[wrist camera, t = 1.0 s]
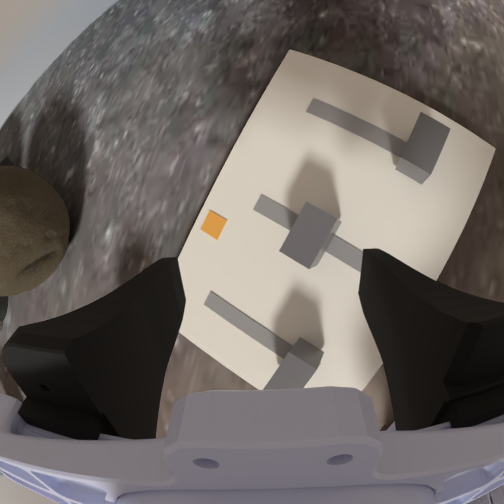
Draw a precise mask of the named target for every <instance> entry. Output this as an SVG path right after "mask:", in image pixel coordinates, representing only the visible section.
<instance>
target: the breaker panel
mask: <svg viewBox="0 0 504 504" xmlns="http://www.w3.org/2000/svg"><path fill="white" fill-rule="evenodd" d="M420 112H423V113H424V114H426V115H428V116H430V117H432V118H433V119H435V120H437V121H439V122H440V123H442V124H444V125H445V126H447V127H449V128H450V132H449V134H448V137H447V139H446V142H445V144H444V146H443V149H442V151H441V153H440V156H439V158H438V160H437V163H436V165H435V167H434V169H433V172H432V174H431V175H430V176H429V177H428V178H427V180H426V181H425V182H424V183H423V184H422V185H421V184H420V183H418V182H416V181H415V180H413V179H411V178H409V177H408V176H406V175H404V174H403V173H401V172H399V171H397V170H396V166H397V163H398V161H399V158H400V156H401V154H402V152H403V150H404V148H405V145H406V143H407V141H408V139H409V137H410V135H411V132H412V130H413V128H414V126H415V124H416V121H417V119H418V117H419V114H420ZM495 149H496V148H494V147H493V146H491V145H490V144H488V143H487V142H485V141H484V140H483V139H481V138H480V137H478V136H477V135H475V134H474V133H472V132H470V131H469V130H467V129H466V128H464V127H463V126H461V125H459V124H458V123H456V122H454V121H453V120H451V119H449V118H448V117H446V116H444V115H442V114H441V113H439V112H437V111H435V110H434V109H432V108H430V107H428V106H426V105H425V104H423V103H421V102H419V101H417V100H415V99H413V98H411V97H409V96H407V95H405V94H403V93H401V92H399V91H397V90H395V89H393V88H391V87H388V86H386V85H384V84H382V83H380V82H377V81H375V80H373V79H371V78H368V77H366V76H364V75H361V74H359V73H356V72H354V71H351V70H349V69H346V68H344V67H341V66H338V65H336V64H333V63H330V62H327V61H325V60H322V59H319V58H316V57H313V56H310V55H307V54H304V53H300V52H297V51H294V50H291V49H290V50H289V51H288V53H287V55H286V56H285V58H284V60H283V61H282V63H281V64H280V66H279V68H278V70H277V71H276V73H275V75H274V76H273V78H272V80H271V81H270V83H269V85H268V86H267V88H266V90H265V92H264V93H263V95H262V97H261V99H260V100H259V102H258V104H257V106H256V107H255V109H254V111H253V113H252V115H251V116H250V118H249V120H248V122H247V124H246V125H245V127H244V129H243V131H242V133H241V134H240V136H239V138H238V140H237V142H236V144H235V146H234V147H233V149H232V151H231V153H230V155H229V157H228V159H227V161H226V163H225V164H224V166H223V168H222V170H221V172H220V174H219V176H218V178H217V180H216V182H215V184H214V186H213V188H212V190H211V192H210V194H209V196H208V198H207V200H206V202H205V204H204V206H203V208H202V210H201V212H200V214H199V216H198V218H197V220H196V222H195V224H194V226H193V228H192V230H191V232H190V234H189V236H188V238H187V241H186V243H185V245H184V247H183V249H182V251H181V253H180V256H179V258H178V263H179V268H180V273H181V278H182V283H183V288H184V293H185V297H186V305H185V310H184V315H183V320H182V324H181V327H180V330H179V332H180V333H181V334H182V335H184V336H185V337H186V338H187V339H189V340H190V341H191V342H193V343H194V344H195V345H197V346H198V347H199V348H201V349H202V350H203V351H205V352H206V353H207V354H209V355H210V356H212V357H213V358H214V359H216V360H217V361H218V362H220V363H221V364H223V365H224V366H225V367H227V368H228V369H230V370H231V371H233V372H234V373H235V374H237V375H238V376H240V377H241V378H243V379H244V380H246V381H247V382H249V383H250V384H252V385H253V386H254V387H256V388H257V389H259V390H263V389H264V387H265V386H266V384H267V383H268V382H269V380H270V379H271V377H272V376H273V374H274V373H275V371H276V370H277V369H278V367H279V366H280V364H281V363H282V361H283V360H284V358H285V357H286V355H287V354H288V352H289V351H290V350H291V348H292V347H293V346H294V344H295V343H296V341H297V340H298V339H299V337H301V338H303V339H304V340H306V341H307V342H309V343H311V344H312V345H314V346H315V347H317V348H319V349H320V350H322V351H323V352H324V354H323V356H322V359H321V361H320V364H319V366H318V368H317V370H316V372H315V373H314V374H313V376H312V377H311V379H310V380H309V381H308V383H307V384H306V385H305V387H304V388H313V387H325V386H337V387H352V388H357V389H358V390H360V391H362V390H363V389H364V388H365V386H366V385H367V384H368V382H369V381H370V380H371V379H372V377H373V376H374V375H375V373H376V372H377V371H378V369H379V368H380V367H381V365H382V364H383V362H382V359H381V356H380V353H379V351H378V348H377V346H376V343H375V341H374V338H373V336H372V333H371V331H370V329H369V326H368V324H367V321H366V319H365V316H364V314H363V310H362V306H361V303H360V299H359V295H358V291H359V283H360V274H361V265H362V256H363V249H372V248H378V249H381V250H383V251H385V252H387V253H388V254H390V255H392V256H393V257H395V258H397V259H398V260H400V261H402V262H403V263H405V264H407V265H408V266H410V267H412V268H413V269H415V270H417V271H419V272H420V273H422V274H424V275H426V276H428V277H430V278H431V279H433V280H435V281H437V279H438V277H439V275H440V273H441V272H442V270H443V268H444V266H445V264H446V262H447V260H448V259H449V257H450V255H451V253H452V251H453V249H454V247H455V245H456V243H457V241H458V239H459V237H460V235H461V233H462V231H463V228H464V226H465V224H466V222H467V220H468V218H469V215H470V213H471V211H472V209H473V206H474V204H475V202H476V199H477V197H478V195H479V192H480V190H481V187H482V185H483V182H484V180H485V177H486V174H487V172H488V169H489V166H490V164H491V161H492V158H493V155H494V152H495ZM306 201H307V202H309V203H310V204H312V205H314V206H316V207H318V208H319V209H321V210H323V211H325V212H327V213H328V214H330V215H332V216H334V217H336V218H337V219H339V220H340V221H341V224H340V226H339V228H338V230H337V231H336V233H335V235H334V237H333V239H332V240H331V242H330V244H329V246H328V248H327V249H326V251H325V253H324V255H323V256H322V258H321V260H320V262H319V263H318V265H317V266H315V267H313V268H311V269H308V268H306V267H304V266H303V265H301V264H299V263H298V262H296V261H294V260H293V259H291V258H290V257H288V256H286V255H285V254H283V253H281V252H280V251H279V250H280V248H281V246H282V245H283V243H284V241H285V239H286V237H287V235H288V234H289V232H290V230H291V228H292V226H293V225H294V223H295V221H296V219H297V217H298V215H299V213H300V212H301V210H302V208H303V206H304V204H305V202H306Z"/></svg>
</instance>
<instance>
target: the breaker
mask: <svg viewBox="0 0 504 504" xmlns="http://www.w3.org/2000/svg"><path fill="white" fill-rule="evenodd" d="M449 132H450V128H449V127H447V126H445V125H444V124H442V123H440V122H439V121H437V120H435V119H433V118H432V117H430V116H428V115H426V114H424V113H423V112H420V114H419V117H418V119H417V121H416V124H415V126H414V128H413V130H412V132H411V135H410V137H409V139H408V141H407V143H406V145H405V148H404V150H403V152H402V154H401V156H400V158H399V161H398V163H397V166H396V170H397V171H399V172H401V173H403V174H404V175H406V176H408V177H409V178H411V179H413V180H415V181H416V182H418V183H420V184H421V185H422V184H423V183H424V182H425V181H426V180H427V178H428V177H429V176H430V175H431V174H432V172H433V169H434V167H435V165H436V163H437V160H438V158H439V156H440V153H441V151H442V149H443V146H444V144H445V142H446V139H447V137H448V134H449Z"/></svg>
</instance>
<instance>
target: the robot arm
mask: <svg viewBox="0 0 504 504" xmlns="http://www.w3.org/2000/svg"><path fill="white" fill-rule="evenodd" d="M358 295H359V299H360V303H361V306H362V310H363V314H364V316H365V319H366V321H367V324H368V326H369V329H370V331H371V333H372V336H373V338H374V341H375V343H376V346H377V348H378V351H379V353H380V356H381V359H382V362H383V365H384V369H385V373H386V377H387V381H388V386H389V391H390V396H391V401H392V407H393V413H394V420H395V421H394V422H393V423H392V424H391V425H390V427H389V428H388V429H387V430H386V431H380V429H379V425H378V422H377V418H376V414H375V410H374V406H373V403H372V399H371V397H370V396H368V395H367V394H365V393H363V392H362V391H360V390H358V389H357V388H352V387H337V386H325V387H313V388H298V389H278V390H211V391H203V392H196V393H190V394H187V395H186V396H184V397H183V398H182V399H180V400H179V401H177V402H176V403H174V406H173V410H172V414H171V418H170V422H169V426H168V430H167V434H166V438H156V428H157V419H158V411H159V405H160V398H161V392H162V387H163V382H164V376H165V372H166V368H167V365H168V362H169V359H170V356H171V353H172V350H173V347H174V344H175V341H176V338H177V335H178V333H179V330H180V327H181V324H182V320H183V315H184V310H185V305H186V297H185V293H184V288H183V283H182V278H181V273H180V268H179V263H178V258H177V257H172V258H162V259H160V260H158V261H156V262H155V263H153V264H152V265H150V266H149V267H148V268H146V269H145V270H143V271H142V272H141V273H139V274H138V275H136V276H135V277H134V278H132V279H131V280H129V281H128V282H126V283H125V284H123V285H122V286H120V287H119V288H117V289H115V290H114V291H112V292H111V293H109V294H107V295H106V296H104V297H102V298H100V299H98V300H96V301H94V302H92V303H90V304H88V305H86V306H84V307H81V308H79V309H77V310H75V311H72V312H70V313H67V314H64V315H62V316H59V317H56V318H52V319H49V320H46V321H42V322H38V323H33V324H29V325H25V326H20V327H18V329H17V330H16V331H15V332H14V334H13V335H12V336H11V337H10V339H9V340H8V341H7V343H6V344H5V345H4V347H3V349H2V356H3V360H4V363H5V365H6V367H7V369H8V371H9V372H10V374H11V375H12V377H13V378H14V380H15V381H16V383H17V384H18V385H19V387H20V388H21V390H22V391H23V392H24V394H25V395H26V396H27V397H26V399H25V400H24V402H23V403H22V402H21V401H19V400H18V399H16V398H14V397H11V396H8V395H6V394H3V393H0V472H2V473H3V474H4V475H5V476H7V477H8V478H9V479H11V480H13V481H14V482H16V483H18V484H20V485H22V486H24V487H26V488H28V489H30V490H32V491H34V492H36V493H38V494H40V495H42V496H44V497H46V498H48V499H50V500H52V501H55V502H57V503H59V504H504V303H502V302H496V301H492V300H488V299H484V298H480V297H477V296H473V295H470V294H467V293H464V292H461V291H459V290H456V289H453V288H451V287H449V286H446V285H444V284H442V283H440V282H437V281H435V280H433V279H431V278H430V277H428V276H426V275H424V274H422V273H420V272H419V271H417V270H415V269H413V268H412V267H410V266H408V265H407V264H405V263H403V262H402V261H400V260H398V259H397V258H395V257H393V256H392V255H390V254H388V253H387V252H385V251H383V250H381V249H378V248H372V249H363V256H362V265H361V274H360V283H359V291H358Z"/></svg>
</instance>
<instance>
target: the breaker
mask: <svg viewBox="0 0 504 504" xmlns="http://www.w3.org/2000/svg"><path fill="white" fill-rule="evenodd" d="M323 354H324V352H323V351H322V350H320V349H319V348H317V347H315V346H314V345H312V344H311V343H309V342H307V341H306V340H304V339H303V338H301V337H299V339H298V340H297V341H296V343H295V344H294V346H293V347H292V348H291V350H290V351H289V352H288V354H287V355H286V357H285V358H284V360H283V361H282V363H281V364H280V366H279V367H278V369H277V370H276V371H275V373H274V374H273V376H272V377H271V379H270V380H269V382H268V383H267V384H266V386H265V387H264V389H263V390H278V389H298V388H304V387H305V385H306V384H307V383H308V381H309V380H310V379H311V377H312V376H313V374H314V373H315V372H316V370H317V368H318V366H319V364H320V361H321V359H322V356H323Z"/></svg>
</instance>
